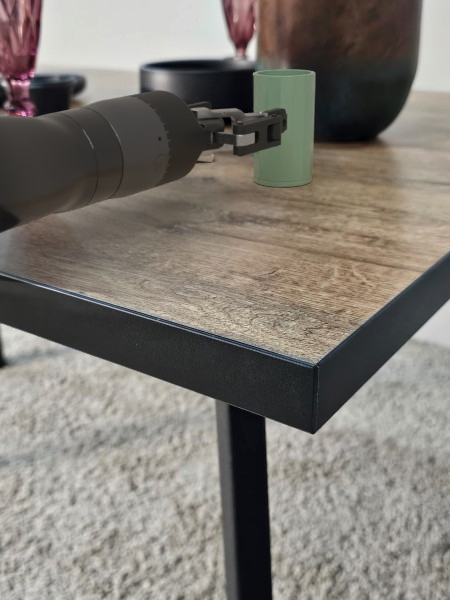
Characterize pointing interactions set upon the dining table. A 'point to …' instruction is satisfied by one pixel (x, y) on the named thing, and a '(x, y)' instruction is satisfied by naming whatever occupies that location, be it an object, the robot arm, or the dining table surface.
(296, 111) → the cup
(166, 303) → the dining table surface
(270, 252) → the dining table surface
